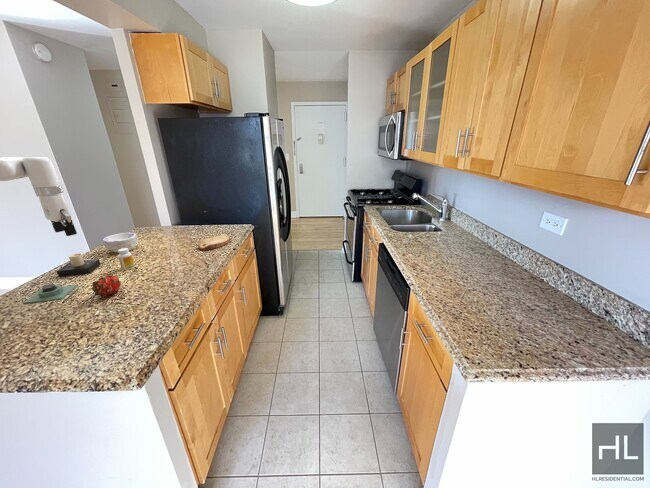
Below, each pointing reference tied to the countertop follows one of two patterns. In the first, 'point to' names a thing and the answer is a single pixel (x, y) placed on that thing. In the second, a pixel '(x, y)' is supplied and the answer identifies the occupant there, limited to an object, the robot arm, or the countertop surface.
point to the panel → (79, 268)
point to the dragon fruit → (106, 285)
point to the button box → (52, 294)
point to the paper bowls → (120, 241)
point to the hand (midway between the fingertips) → (66, 233)
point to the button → (49, 288)
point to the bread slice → (214, 242)
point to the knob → (76, 260)
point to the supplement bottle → (125, 259)
